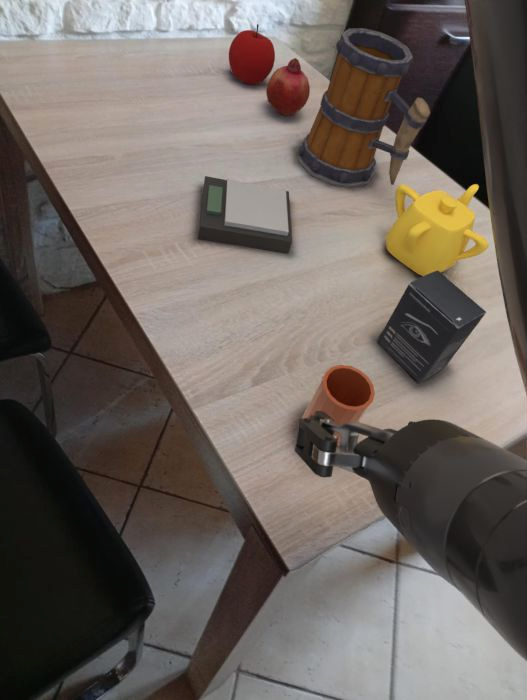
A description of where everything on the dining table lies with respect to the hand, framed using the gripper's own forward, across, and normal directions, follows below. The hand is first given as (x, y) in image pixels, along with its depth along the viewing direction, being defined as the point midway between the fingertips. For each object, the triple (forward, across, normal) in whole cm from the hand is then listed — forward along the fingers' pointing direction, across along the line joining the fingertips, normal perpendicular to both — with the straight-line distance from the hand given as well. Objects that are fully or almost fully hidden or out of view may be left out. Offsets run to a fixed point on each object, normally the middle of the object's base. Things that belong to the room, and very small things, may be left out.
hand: (363, 427), depth 45 cm
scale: (+36, +9, -21) cm, 43 cm away
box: (+21, -13, -5) cm, 25 cm away
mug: (+50, -9, -34) cm, 61 cm away
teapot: (+36, -19, -20) cm, 45 cm away
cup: (+12, 0, +4) cm, 12 cm away
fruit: (+61, +2, -46) cm, 77 cm away
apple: (+69, +9, -53) cm, 88 cm away
